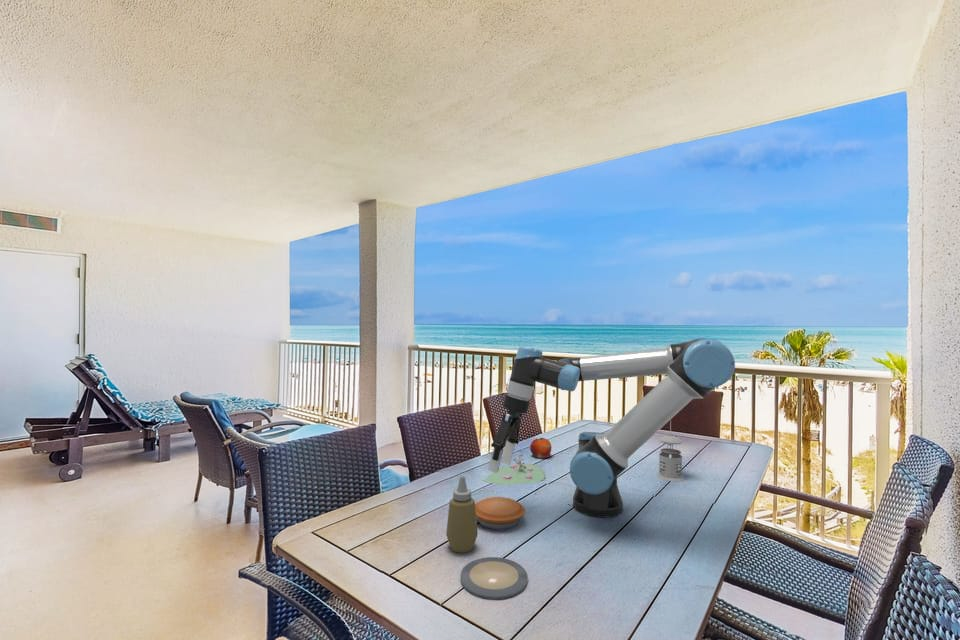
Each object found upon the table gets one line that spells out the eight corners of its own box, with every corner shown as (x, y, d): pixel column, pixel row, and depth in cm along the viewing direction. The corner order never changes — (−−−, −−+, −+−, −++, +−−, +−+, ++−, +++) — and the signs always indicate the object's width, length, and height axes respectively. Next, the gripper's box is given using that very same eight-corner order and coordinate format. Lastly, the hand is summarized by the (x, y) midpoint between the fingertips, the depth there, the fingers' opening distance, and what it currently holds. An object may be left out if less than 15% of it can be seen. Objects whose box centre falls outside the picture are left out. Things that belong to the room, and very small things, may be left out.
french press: (656, 479, 163) (656, 411, 163) (656, 469, 173) (656, 406, 173) (685, 483, 159) (685, 413, 159) (683, 473, 170) (684, 408, 170)
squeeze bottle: (473, 557, 108) (474, 483, 108) (442, 553, 109) (442, 481, 109) (480, 541, 116) (480, 472, 116) (450, 538, 117) (451, 470, 117)
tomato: (553, 460, 185) (553, 441, 185) (531, 459, 185) (531, 440, 185) (549, 453, 194) (549, 435, 194) (529, 453, 194) (529, 435, 194)
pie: (480, 536, 118) (480, 518, 118) (466, 512, 133) (466, 496, 133) (533, 530, 122) (533, 512, 122) (514, 507, 137) (514, 491, 137)
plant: (513, 493, 149) (513, 467, 150) (471, 478, 164) (471, 453, 164) (556, 476, 167) (557, 452, 167) (515, 463, 182) (515, 441, 182)
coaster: (534, 567, 103) (534, 564, 103) (517, 606, 89) (517, 601, 89) (474, 555, 108) (474, 552, 108) (449, 590, 94) (449, 586, 94)
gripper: (516, 393, 145) (499, 456, 144) (494, 394, 121) (474, 470, 120) (538, 399, 142) (521, 464, 141) (519, 402, 119) (499, 479, 118)
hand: (499, 467), depth 131 cm, fingers open, 13 cm apart
